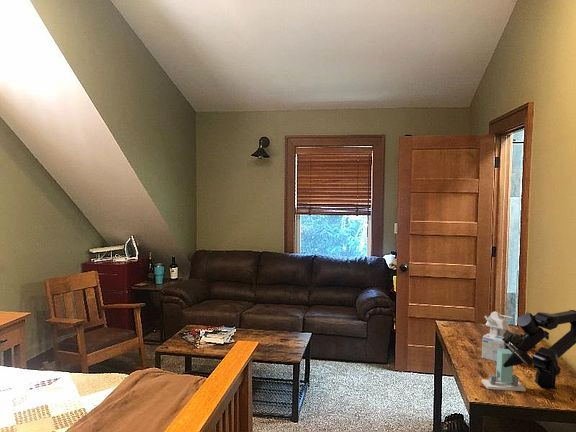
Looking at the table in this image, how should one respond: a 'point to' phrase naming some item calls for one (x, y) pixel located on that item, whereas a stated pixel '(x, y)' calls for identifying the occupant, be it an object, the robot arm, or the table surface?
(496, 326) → the white mech figurine
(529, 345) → the robot arm
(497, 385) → the shaft bracket
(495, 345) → the light bulb box
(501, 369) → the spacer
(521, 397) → the table surface
